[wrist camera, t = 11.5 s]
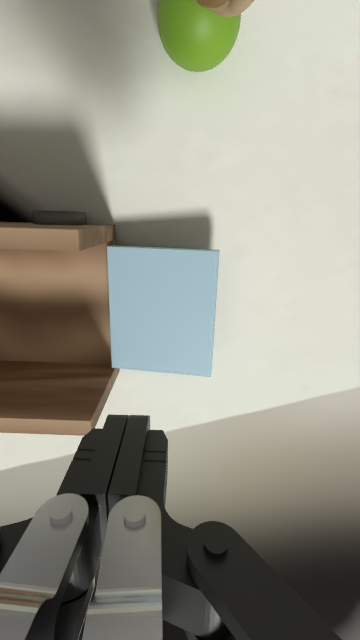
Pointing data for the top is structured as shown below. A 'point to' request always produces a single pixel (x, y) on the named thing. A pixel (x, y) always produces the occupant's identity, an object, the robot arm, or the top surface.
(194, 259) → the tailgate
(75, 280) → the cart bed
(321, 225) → the top surface
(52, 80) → the top surface
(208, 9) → the snail figurine
